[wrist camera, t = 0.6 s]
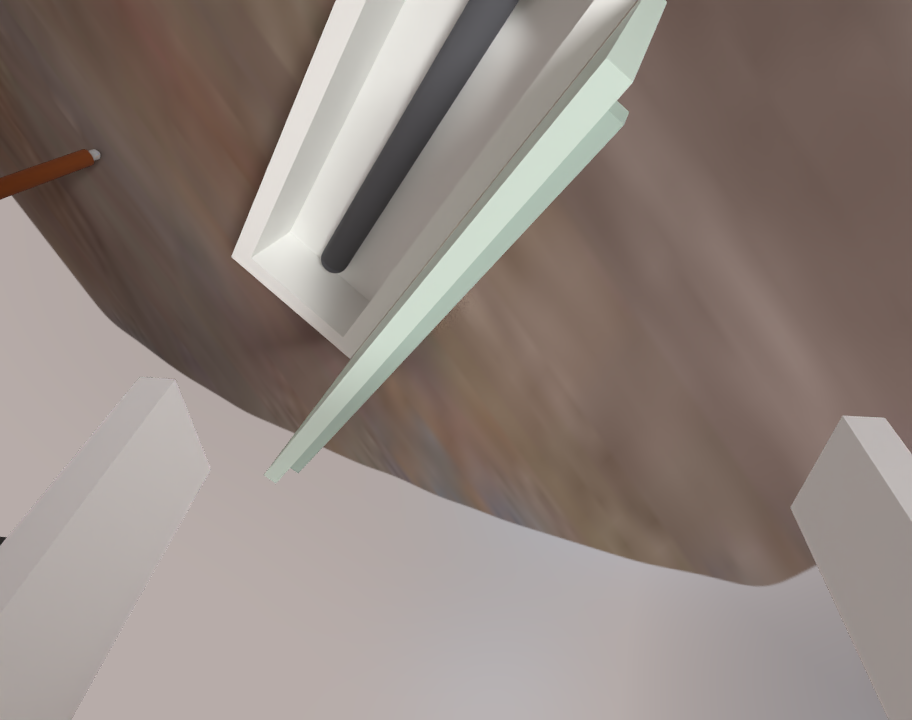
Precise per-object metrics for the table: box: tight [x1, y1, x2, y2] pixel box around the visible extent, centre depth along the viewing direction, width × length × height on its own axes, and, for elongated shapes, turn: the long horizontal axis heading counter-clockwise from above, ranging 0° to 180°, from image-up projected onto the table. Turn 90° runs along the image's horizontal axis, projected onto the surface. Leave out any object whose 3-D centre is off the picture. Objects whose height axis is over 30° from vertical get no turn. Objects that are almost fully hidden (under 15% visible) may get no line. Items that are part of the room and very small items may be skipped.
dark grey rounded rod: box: [321, 0, 519, 273], centre depth 30 cm, size 22×2×2 cm, turn 145°
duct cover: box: [264, 0, 667, 483], centre depth 25 cm, size 26×10×1 cm
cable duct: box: [231, 0, 639, 359], centre depth 30 cm, size 26×10×5 cm, turn 145°
